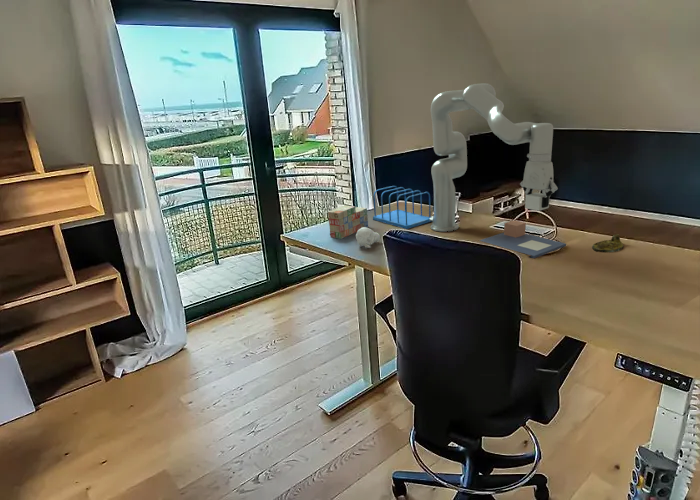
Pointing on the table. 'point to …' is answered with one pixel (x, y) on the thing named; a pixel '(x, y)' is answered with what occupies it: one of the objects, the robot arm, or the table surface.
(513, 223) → the top block
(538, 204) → the base block
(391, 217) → the file sorter
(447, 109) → the robot arm
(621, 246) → the seal
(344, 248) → the table surface
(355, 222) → the stack of blocks
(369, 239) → the white animal figurine
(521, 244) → the board
